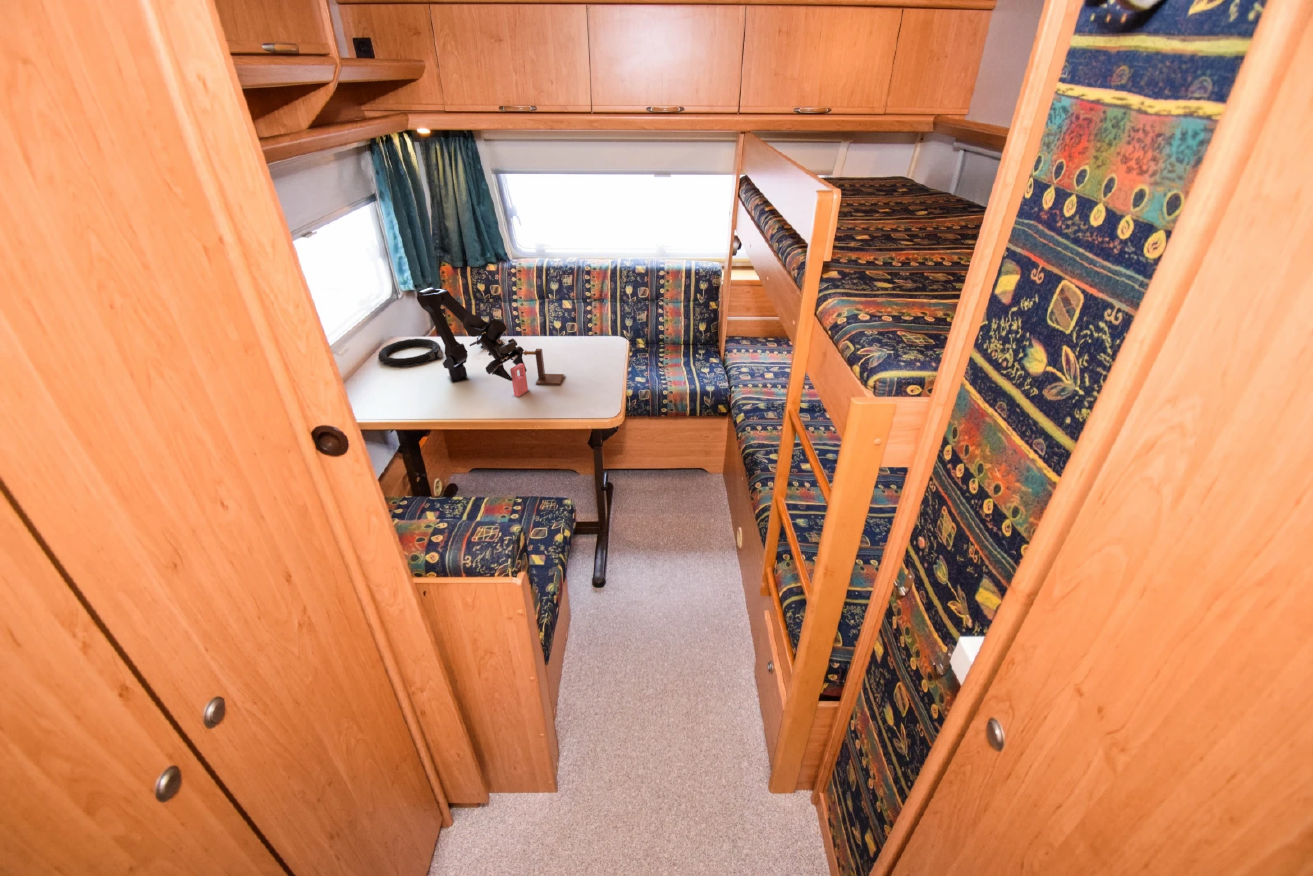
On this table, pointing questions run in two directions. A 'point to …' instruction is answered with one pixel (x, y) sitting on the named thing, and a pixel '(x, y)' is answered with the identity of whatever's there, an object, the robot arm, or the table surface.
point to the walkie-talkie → (476, 343)
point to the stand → (542, 377)
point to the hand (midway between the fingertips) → (519, 376)
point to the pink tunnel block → (519, 379)
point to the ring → (411, 360)
